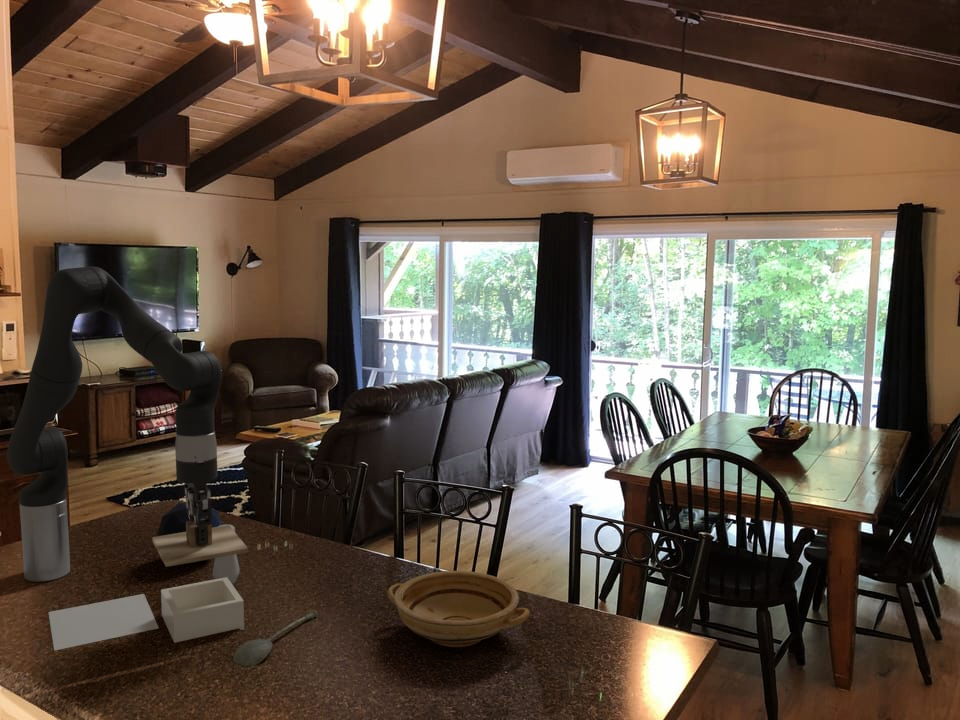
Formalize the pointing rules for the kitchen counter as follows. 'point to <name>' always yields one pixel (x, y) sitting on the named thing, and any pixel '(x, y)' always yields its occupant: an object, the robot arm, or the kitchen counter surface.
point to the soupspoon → (261, 646)
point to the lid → (185, 549)
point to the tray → (101, 621)
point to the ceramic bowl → (457, 606)
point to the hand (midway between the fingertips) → (199, 540)
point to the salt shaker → (226, 566)
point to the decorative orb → (181, 520)
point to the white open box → (202, 609)
